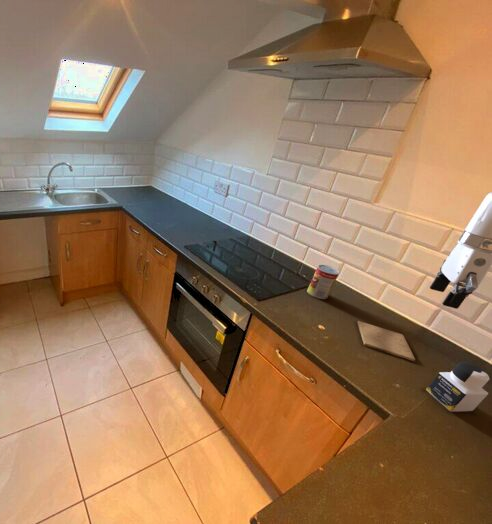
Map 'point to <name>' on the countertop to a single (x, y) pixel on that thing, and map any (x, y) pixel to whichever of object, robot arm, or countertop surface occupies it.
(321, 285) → the canned food
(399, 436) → the countertop surface
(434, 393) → the medicine bottle
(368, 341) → the cork mat
